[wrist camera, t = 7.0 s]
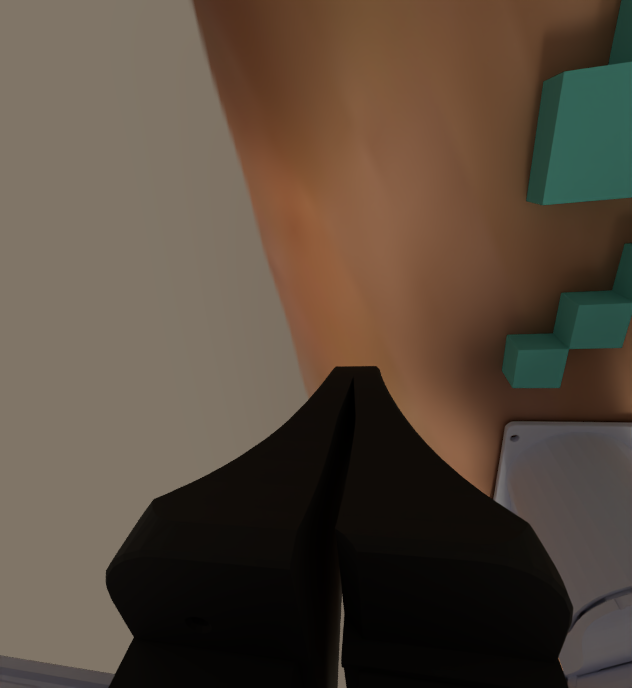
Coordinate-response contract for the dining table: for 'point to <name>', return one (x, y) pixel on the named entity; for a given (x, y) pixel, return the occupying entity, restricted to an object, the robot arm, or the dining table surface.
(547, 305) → the dining table surface
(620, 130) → the alien figure
